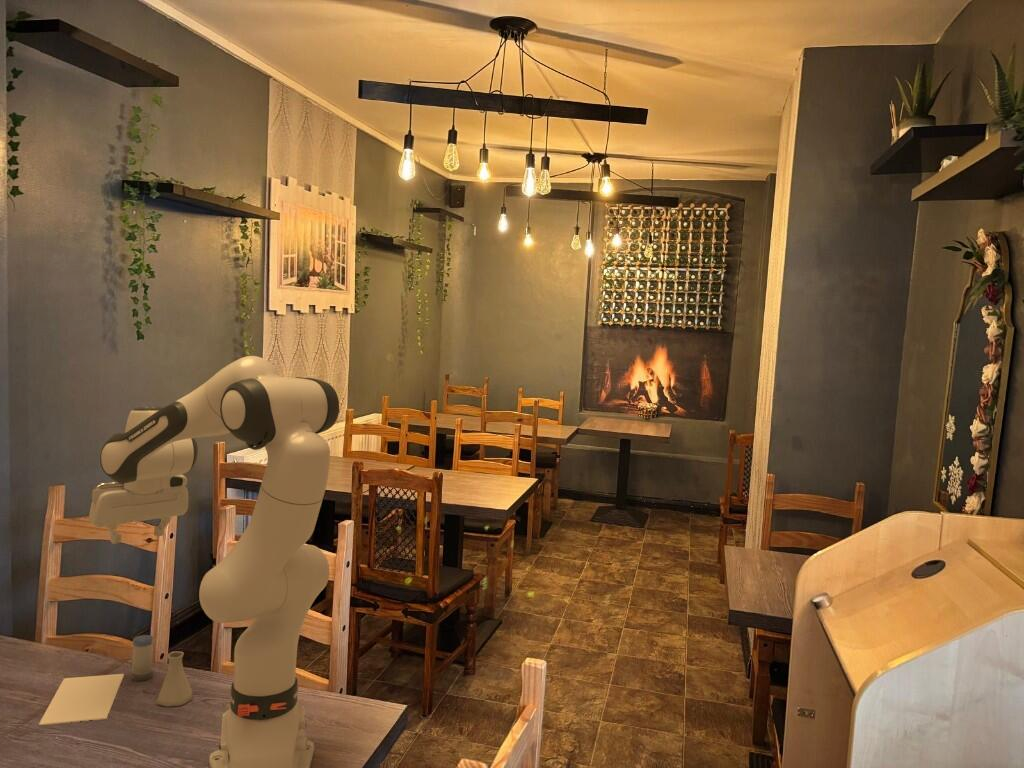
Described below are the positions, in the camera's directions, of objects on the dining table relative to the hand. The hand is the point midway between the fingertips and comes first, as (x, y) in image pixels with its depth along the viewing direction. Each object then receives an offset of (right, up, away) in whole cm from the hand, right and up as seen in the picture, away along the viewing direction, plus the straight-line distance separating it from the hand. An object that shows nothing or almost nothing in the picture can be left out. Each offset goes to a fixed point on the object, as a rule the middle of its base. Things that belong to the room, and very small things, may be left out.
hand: (137, 538), depth 170 cm
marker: (-1, -32, +4) cm, 32 cm away
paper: (-8, -32, -7) cm, 34 cm away
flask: (+11, -33, -5) cm, 35 cm away
